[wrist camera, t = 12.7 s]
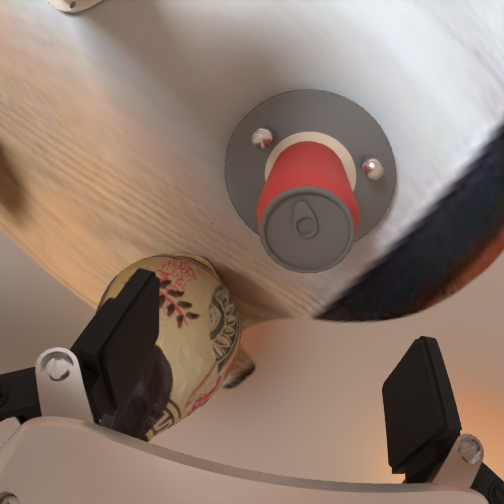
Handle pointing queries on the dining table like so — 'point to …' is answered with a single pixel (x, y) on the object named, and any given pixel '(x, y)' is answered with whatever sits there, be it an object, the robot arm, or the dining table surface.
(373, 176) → the steel pins
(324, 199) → the beer can
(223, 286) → the ceramic jug
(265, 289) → the dining table surface
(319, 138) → the pin plate
